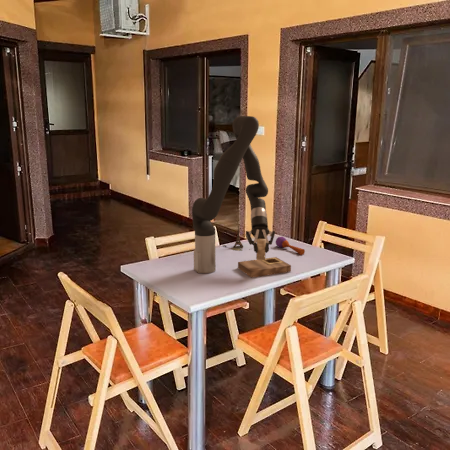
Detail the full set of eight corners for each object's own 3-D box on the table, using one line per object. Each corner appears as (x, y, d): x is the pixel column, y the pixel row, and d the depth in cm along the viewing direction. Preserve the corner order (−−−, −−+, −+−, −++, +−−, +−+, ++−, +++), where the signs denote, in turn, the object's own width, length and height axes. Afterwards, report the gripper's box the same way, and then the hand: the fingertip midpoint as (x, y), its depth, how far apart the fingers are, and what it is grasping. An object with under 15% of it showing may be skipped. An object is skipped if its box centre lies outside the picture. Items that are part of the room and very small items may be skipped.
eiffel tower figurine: (221, 246, 260) (221, 222, 256) (235, 243, 266) (236, 220, 262) (238, 253, 248) (238, 228, 245) (253, 249, 254) (253, 225, 251)
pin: (258, 260, 212) (259, 241, 210) (254, 258, 215) (255, 238, 213) (266, 259, 213) (267, 240, 211) (262, 257, 217) (263, 238, 215)
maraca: (297, 248, 240) (273, 237, 256) (298, 259, 243) (273, 247, 259) (306, 245, 243) (281, 233, 259) (307, 255, 245) (282, 243, 261)
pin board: (251, 277, 210) (251, 270, 209) (237, 268, 222) (238, 261, 221) (290, 271, 217) (291, 265, 216) (275, 263, 230) (276, 256, 229)
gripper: (244, 214, 217) (246, 247, 208) (275, 215, 218) (278, 247, 209) (243, 223, 223) (244, 256, 214) (273, 223, 224) (276, 256, 215)
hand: (261, 251), depth 211 cm, fingers closed on pin, 4 cm apart
